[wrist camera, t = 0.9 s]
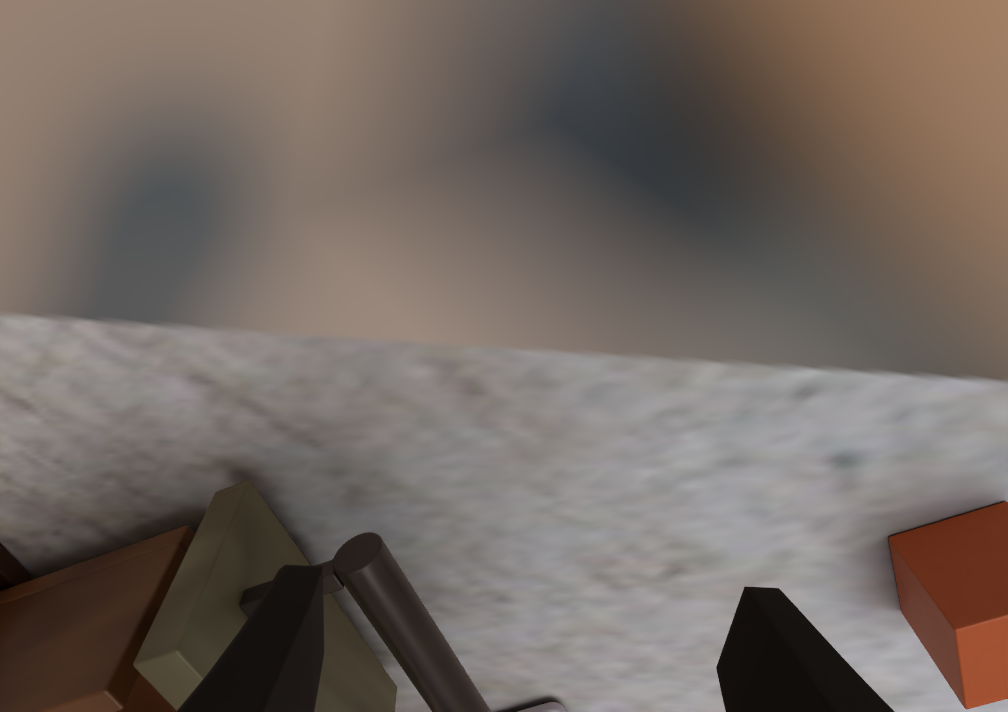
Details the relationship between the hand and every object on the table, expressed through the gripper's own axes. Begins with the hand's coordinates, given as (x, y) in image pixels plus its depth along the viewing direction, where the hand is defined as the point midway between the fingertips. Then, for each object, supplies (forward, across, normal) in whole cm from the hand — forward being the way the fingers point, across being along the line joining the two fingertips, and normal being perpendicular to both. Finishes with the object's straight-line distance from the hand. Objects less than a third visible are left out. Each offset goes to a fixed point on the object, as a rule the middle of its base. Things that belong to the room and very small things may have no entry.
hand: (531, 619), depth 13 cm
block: (+10, -16, +7) cm, 20 cm away
